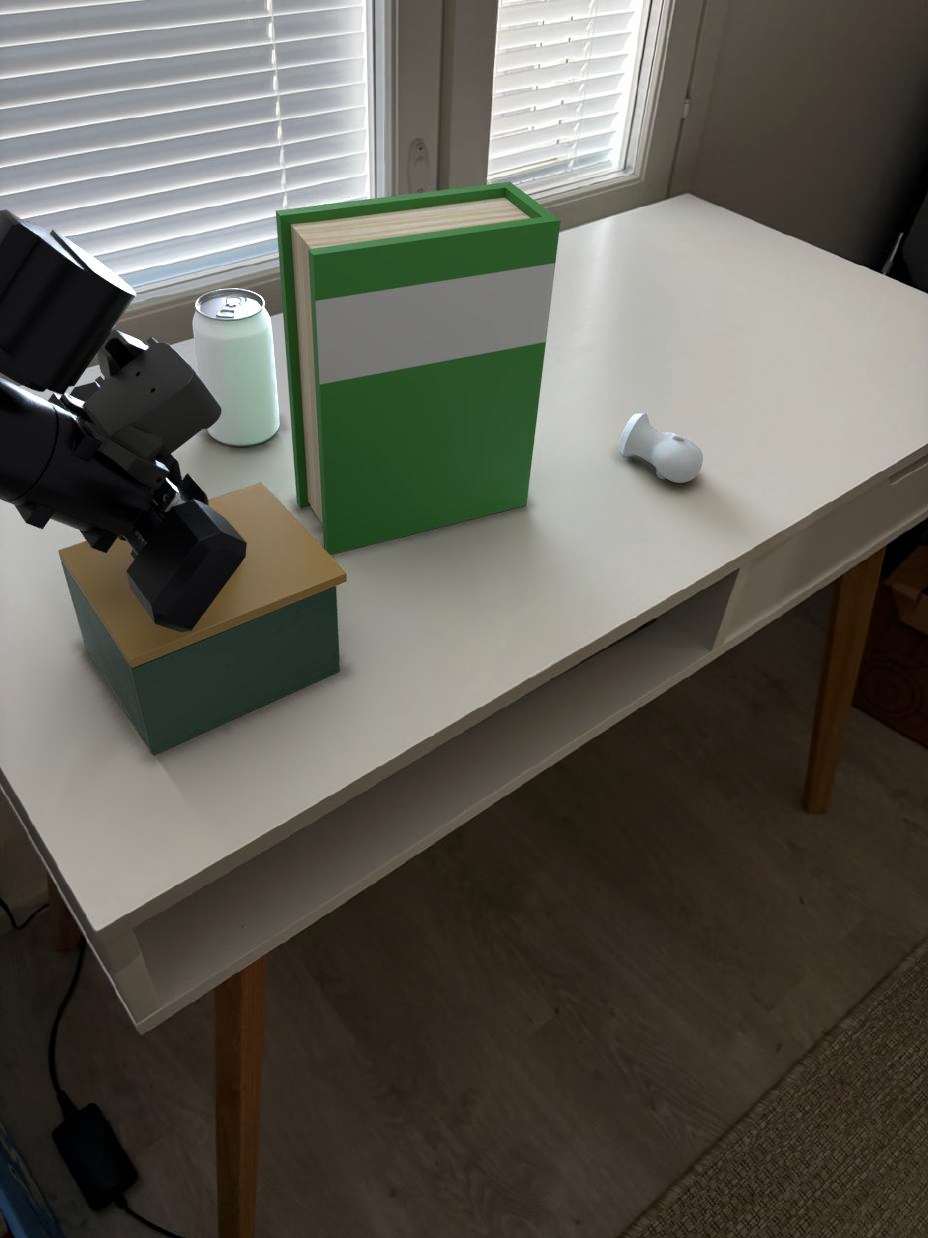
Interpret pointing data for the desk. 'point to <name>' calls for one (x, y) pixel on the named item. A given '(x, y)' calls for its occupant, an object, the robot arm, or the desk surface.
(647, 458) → the smooth white sculpture
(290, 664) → the dark green open box
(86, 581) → the lid
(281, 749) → the desk surface
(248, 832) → the desk surface
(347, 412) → the hardback book
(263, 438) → the can
